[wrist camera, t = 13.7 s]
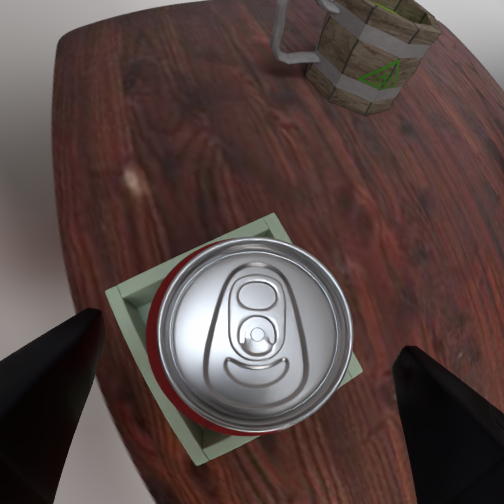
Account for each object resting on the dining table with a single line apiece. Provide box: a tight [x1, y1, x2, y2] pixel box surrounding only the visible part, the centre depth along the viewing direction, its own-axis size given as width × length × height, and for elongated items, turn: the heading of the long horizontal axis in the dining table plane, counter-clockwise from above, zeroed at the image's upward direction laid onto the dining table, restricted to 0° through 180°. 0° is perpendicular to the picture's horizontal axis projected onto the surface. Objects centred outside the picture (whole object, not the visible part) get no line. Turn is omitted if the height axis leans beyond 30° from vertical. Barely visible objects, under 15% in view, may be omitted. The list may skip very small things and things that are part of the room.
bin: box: [105, 213, 363, 466], centre depth 18 cm, size 11×11×5 cm
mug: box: [270, 0, 442, 116], centre depth 24 cm, size 16×11×12 cm
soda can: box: [146, 236, 354, 436], centre depth 14 cm, size 7×7×12 cm
